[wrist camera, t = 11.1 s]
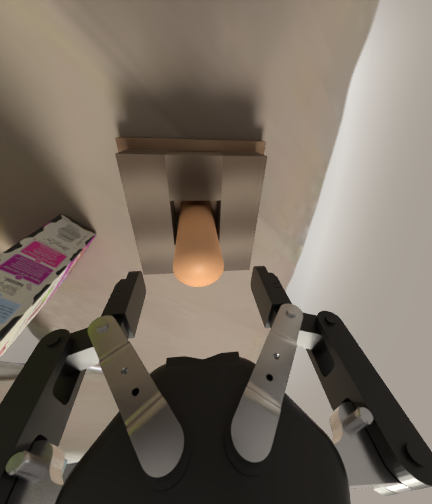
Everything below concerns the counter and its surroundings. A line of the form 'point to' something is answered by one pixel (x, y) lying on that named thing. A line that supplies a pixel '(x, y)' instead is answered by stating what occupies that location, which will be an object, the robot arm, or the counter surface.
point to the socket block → (191, 193)
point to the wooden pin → (197, 246)
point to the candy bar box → (37, 272)
